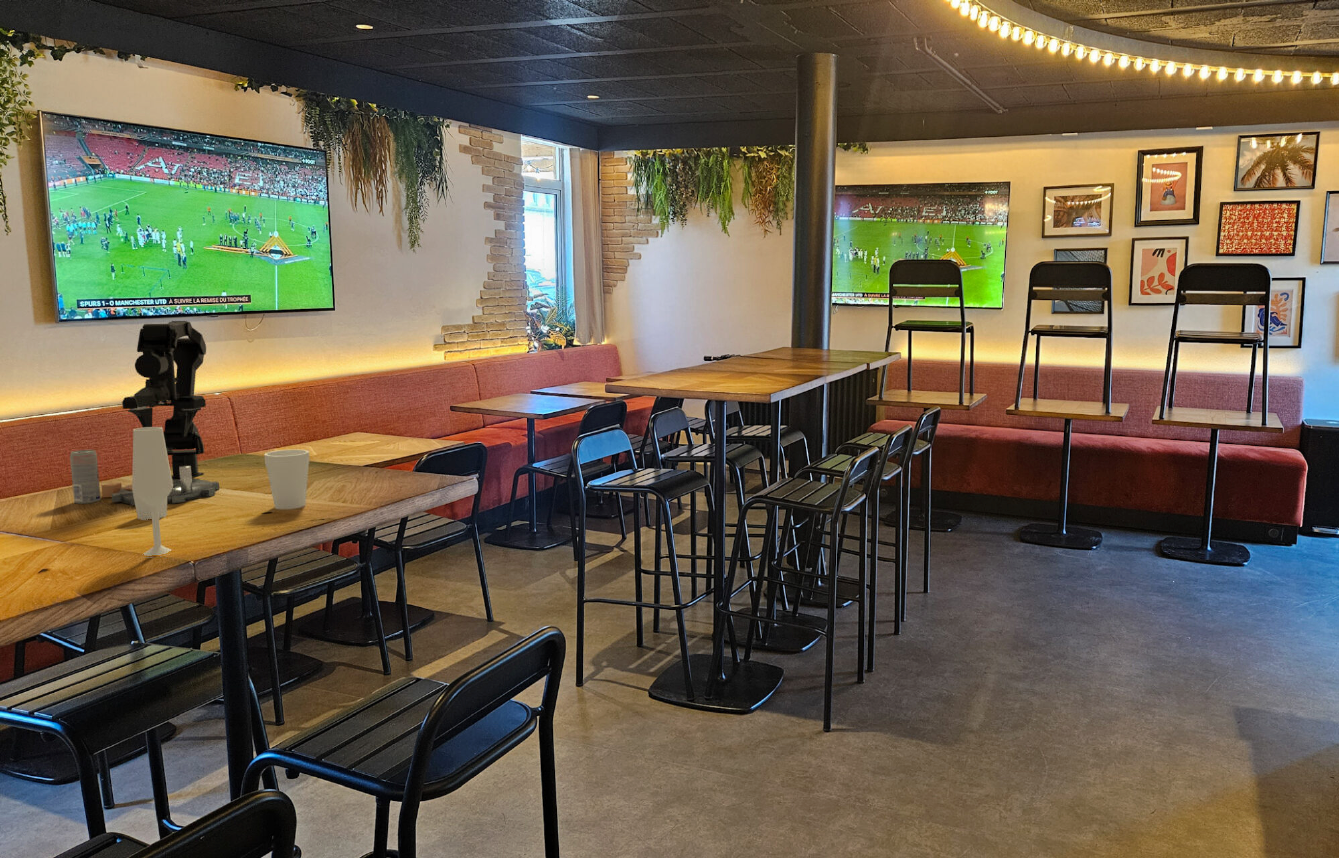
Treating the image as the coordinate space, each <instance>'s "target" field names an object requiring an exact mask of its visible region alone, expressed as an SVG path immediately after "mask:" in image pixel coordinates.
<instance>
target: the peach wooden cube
mask: <svg viewBox="0 0 1339 858" xmlns="http://www.w3.org/2000/svg"><path fill="white" fill-rule="evenodd" d="M122 487H123V486H122V482H108V483H105V484H101V487H100V488H101V495H102V497H111V494H114V493H119V492H118V488H122ZM102 497H101V498H102Z"/></svg>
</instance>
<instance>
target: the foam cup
mask: <svg viewBox="0 0 1339 858" xmlns="http://www.w3.org/2000/svg"><path fill="white" fill-rule="evenodd" d="M309 464H310V451H309V450H306V449H297V448H296V449H280V450H279V449H278V450H273V451H268V452H265V453H264V466H266V471H267V472H266V473H267V476H268V480H269V486H270V490H271V497H272V500H273V505H274V509H277V510H284V509H285V510H295V509H300V508H304V507H305V506H306V502H307V501H306V500H307V490H308V479H309V478H308V477H309V476H308V475H309Z"/></svg>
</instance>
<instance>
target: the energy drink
mask: <svg viewBox="0 0 1339 858" xmlns="http://www.w3.org/2000/svg"><path fill="white" fill-rule="evenodd" d="M69 460H70V471H71V480H72V481H71V482H72V490H73V491H72V492H73V493H72V494H73V502H74V503H75V504H79V505H86V504H94V503H98V502H100V500H101V499H102V497H101V490H100V489H101V487H100V479H99V478H100V477H99V467H98V454H97V452H96V450H95V449H82V450H81V449H80V450H74V451H73V450H72V451H70V455H69Z"/></svg>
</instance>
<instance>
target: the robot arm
mask: <svg viewBox="0 0 1339 858" xmlns="http://www.w3.org/2000/svg"><path fill="white" fill-rule="evenodd" d="M136 346H137V347H136V352H137V353H142V354H141V355H139V356H138V357H137V358H136V360H135V363H134V368H135V371H136V373H137V374H138V375H139V376H141V377H143V378H147V379H145V382H144V384H145V385H144V387H143V388H140V390H138V391H136V392H135V393H134V394H133V395H131V396H126V397H124V398H123V399H122V402H121V406H122V407H121V408H122V409H123V410H127V412H128V413H132V414H133V415H134V416H136V417H137V419H138V421H139V422H140V425H141V426H142V427H141V428H145V427H153V408H155V407H173V412H172V416H171V417H170V418H166V420H165V421H164V429H163V434H164V439H165V444H166V450H167V455H168V456H171V467H172V468H171V470H172V474H171V476H172V479H176V478H180V470H179V467H181V466H191V476H192V479H194V478H196V477H200V476H203V475H204V472H199V466H198V465H199V463H198V455H199V456H200V455H202V454H205V445H204V442H203V440H202V436H201V435H200V433H199V429H198V428H197V426H196V424H195V423H194V421H193V420H194V418H195V417H196V415H197V413H198V411H201V410H202V408H206V399H205V397H204V396H203V395H195V387H196V386H195V384H196V375H197V374H196V373H197V370H198V369H199V368H200V367H201V366H202V365H203V362H204V356H206V354H207V345H206V342H205V339H204V337H203V334H202V333H200V332H199V331H198V330H197V329H195V328H194V327H193V326H192V324H191V321H187V320H171V321H169V322H167V323H144V324H143V325H142V328H140V330H139V335H138V340H137V345H136ZM175 365H176V374H175ZM199 475H200V476H199ZM193 477H194V478H193Z"/></svg>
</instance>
